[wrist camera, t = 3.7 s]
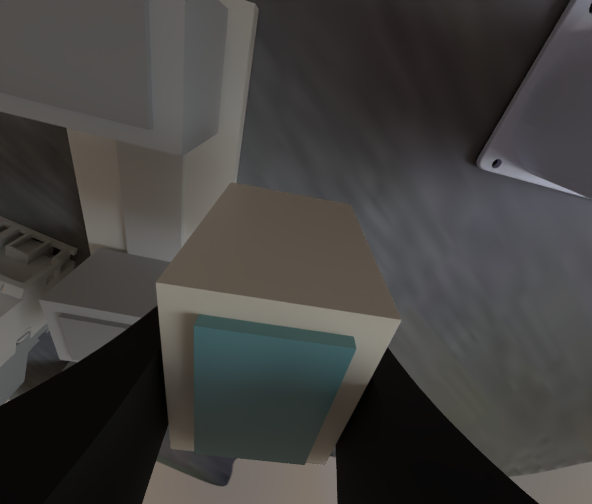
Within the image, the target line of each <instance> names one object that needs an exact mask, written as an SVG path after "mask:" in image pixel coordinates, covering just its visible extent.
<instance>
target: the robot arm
mask: <svg viewBox="0 0 592 504" xmlns="http://www.w3.org/2000/svg"><path fill="white" fill-rule="evenodd" d="M591 4H592V0H570V2H569V3H568V5H567V7H566V9H565V10H564V12H563V14H562V15H561V17H560V19H559V21H558V22H557V24H556V26H555V27H554V29H553V31H552V32H551V34H550V36H549V38H548V39H547V41H546V43H545V44H544V46H543V48H542V49H541V51H540V53H539V55H538V56H537V58H536V60H535V61H534V63H533V65H532V66H531V68H530V70H529V72H528V73H527V75H526V77H525V78H524V80H523V82H522V84H521V85H520V87H519V89H518V90H517V92H516V94H515V95H514V97H513V99H512V101H511V102H510V104H509V106H508V107H507V109H506V111H505V112H504V114H503V116H502V118H501V119H500V121H499V123H498V124H497V126H496V128H495V129H494V131H493V133H492V135H491V136H490V138H489V140H488V141H487V143H486V145H485V147H484V148H483V150H482V152H481V153H480V155H479V157H478V159H477V161H476V163H477V166H478V167H479V168H481V169H483V170H486V171H489V172H493V173H497V174H500V175H504V176H508V177H511V178H515V179H519V180H522V181H526V182H530V183H533V184H537V185H541V186H544V187H548V188H552V189H555V190H559V191H562V192H566V193H570V194H573V195H577V196H581V197H584V198H588V199H592V12H591V13H589V8H590V5H591ZM496 159H497V160H498V161H497V163H496V164H495V165H494V166H492V163H493V162H494V161H495V160H496ZM168 424H169V423H168V412H167V401H166V390H165V380H164V369H163V358H162V347H161V336H160V325H159V314H158V305H157V306H156V307H154V308H153V309H152V310H151V311H150V312H148V313H147V314H146V315H145V316H143V317H142V318H141V319H139V320H138V321H137V322H135V323H134V324H133V325H131V326H130V327H129V328H127V329H126V330H125V331H123V332H122V333H121V334H119V335H118V336H116V337H115V338H114V339H112V340H111V341H109V342H108V343H106V344H105V345H103V346H102V347H100V348H99V349H97V350H96V351H94V352H93V353H91V354H90V355H88V356H87V357H85V358H83V359H82V360H80V361H79V362H77V363H75V364H74V365H72V366H70V367H69V368H67V369H65V370H64V371H62V372H60V373H59V374H57V375H55V376H54V377H52V378H50V379H49V380H47V381H45V382H43V383H42V384H40V385H38V386H36V387H35V388H33V389H31V390H29V391H27V392H26V393H24V394H22V395H20V396H18V397H16V398H14V399H12V400H10V401H8V402H7V403H5V404H3V405H1V406H0V504H142V502H143V499H144V496H145V493H146V489H147V487H148V483H149V480H150V477H151V474H152V471H153V468H154V465H155V462H156V459H157V456H158V453H159V450H160V447H161V444H162V441H163V438H164V435H165V432H166V430H167V427H168ZM336 466H337V467H336V468H337V499H338V500H337V501H338V504H538V503H537V502H536V501H535V500H534V499H533V498H531V497H530V496H529V495H528V494H526V493H525V492H524V491H523V490H522V489H521V488H520V487H519V486H518V485H516V484H515V483H514V482H513V481H512V480H511V479H510V478H509V477H508V476H506V475H505V474H504V473H503V472H502V471H501V470H500V469H499V468H498V467H496V466H495V465H494V464H493V463H492V462H491V461H490V460H489V459H488V458H487V457H486V456H485V455H484V454H482V453H481V452H480V451H479V450H478V449H477V448H476V447H475V446H474V445H473V444H472V443H471V442H470V441H469V440H468V439H467V438H466V437H465V436H464V435H463V434H462V433H461V432H460V431H459V430H458V429H457V428H456V427H455V426H454V425H453V424H452V423H451V422H450V421H449V420H448V419H447V418H446V417H445V416H444V415H443V414H442V412H441V411H440V410H439V409H438V408H437V407H436V406H435V405H434V404H433V403H432V401H431V400H430V399H429V398H428V397H427V396H426V395H425V394H424V392H423V391H422V390H421V389H420V388H419V387H418V385H417V384H416V383H415V382H414V381H413V380H412V378H411V377H410V376H409V375H408V373H407V372H406V371H405V369H404V368H403V367H402V366H401V364H400V363H399V362H398V361H397V359H396V358H395V356H394V355H393V354H392V352H391V351H390V350H389V348H388V347H387V349H386V351H385V353H384V354H383V356H382V358H381V360H380V362H379V364H378V366H377V368H376V370H375V371H374V373H373V375H372V377H371V379H370V381H369V383H368V385H367V386H366V388H365V390H364V392H363V394H362V396H361V398H360V400H359V402H358V403H357V405H356V407H355V409H354V411H353V413H352V415H351V417H350V419H349V420H348V422H347V424H346V426H345V428H344V430H343V432H342V434H341V435H340V437H339V439H338V441H337V443H336Z"/></svg>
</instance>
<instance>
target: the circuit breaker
mask: <svg viewBox="0 0 592 504" xmlns="http://www.w3.org/2000/svg"><path fill="white" fill-rule="evenodd" d="M7 228H8V229H7ZM22 234H23V236H22ZM32 237H33V238H35V239H38V240H40V241H42V242H44V243H41V242H38V241H36V240H33V239H32ZM54 247H55V248H57V249H60V252H59V253H58V254H57V255H52V253H53V249H54ZM77 251H78V249H77V248H75V247H72V246H70V245H68V244H65V243H63V242H61V241H58V240H56V239H53V238H51V237H49V236H46V235H44V234H42V233H39V232H37V231H35V230H32V229H30V228H28V227H25V226H23V225H20V224H18V223H16V222H13V221H11V220H9V219H6V218H4V217H2V216H0V406H1V405H3V404H4V403H5V402H6V401H7V399H8V398H9V397H10V396H11V395H12V394H13V393H14V392H15V391H16V390H17V389H18V388H19V386H20V385H21V384H22V383H23V382H24V380H25V373H26V365H27V357H28V352H29V351H30V350H31V349H32V348H33V347H34V346H35V345H36V344H37V343H38V342H39V341H40V340H39V339H37V338H38V337H39V336H40V335H41V334H42V333H43V332H44V333H48V332H49V328H48V325H47V322H46V319H45V316H44V313H43V311H42V308H41V305H40V302H39V299H40V298H41V297H42V296H43V295H44V294H46V293H47V292H48V291H49V290H50V289H51V288H53V287H54V286H55V285H56V284H57V283H59V282H60V281H61V280H62V279H63V278H65V277H66V276H67V275H68V274H69V273H71V272H72V271H73V270H74V265H75V261H73V260H70V256H71V255H73V256H74V255H75V254H76V253H77Z"/></svg>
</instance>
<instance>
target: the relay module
mask: <svg viewBox="0 0 592 504" xmlns="http://www.w3.org/2000/svg"><path fill="white" fill-rule="evenodd" d="M156 292H157V303H158V314H159V325H160V336H161V347H162V358H163V369H164V380H165V390H166V401H167V412H168V423H169V434H170V445H171V449H178V450H188V451H194V454H203V455H212V456H222V457H232V458H242V459H252V460H261V461H271V462H281V463H290V464H300V465H305V463H313V464H323V465H325V464H326V462H327V460H328V458H329V456H330V454H331V452H332V451H333V449H334V447H335V445H336V443H337V441H338V439H339V437H340V435H341V434H342V432H343V430H344V428H345V426H346V424H347V422H348V420H349V419H350V417H351V415H352V413H353V411H354V409H355V407H356V405H357V403H358V402H359V400H360V398H361V396H362V394H363V392H364V390H365V388H366V386H367V385H368V383H369V381H370V379H371V377H372V375H373V373H374V371H375V370H376V368H377V366H378V364H379V362H380V360H381V358H382V356H383V354H384V353H385V351H386V349H387V347H388V345H389V343H390V341H391V339H392V338H393V336H394V334H395V332H396V330H397V328H398V326H399V324H400V322H401V321H402V320H401V317H400V315H399V313H398V311H397V308H396V306H395V304H394V301H393V299H392V297H391V295H390V292H389V290H388V288H387V286H386V283H385V281H384V279H383V277H382V274H381V272H380V270H379V268H378V265H377V263H376V261H375V259H374V256H373V254H372V252H371V249H370V247H369V245H368V243H367V240H366V238H365V236H364V234H363V231H362V229H361V227H360V225H359V222H358V220H357V218H356V216H355V213H354V211H353V209H352V206H351V205H350V204H345V203H340V202H334V201H329V200H324V199H318V198H313V197H308V196H302V195H297V194H292V193H286V192H281V191H276V190H270V189H265V188H260V187H254V186H249V185H244V184H238V183H233V182H230V184H229V185H228V186H227V188H226V189H225V190H224V192H223V193H222V194H221V196H220V197H219V198H218V200H217V201H216V202H215V204H214V205H213V206H212V208H211V209H210V210H209V212H208V213H207V214H206V216H205V217H204V219H203V220H202V221H201V223H200V224H199V225H198V227H197V228H196V229H195V231H194V232H193V233H192V235H191V236H190V237H189V239H188V240H187V241H186V243H185V244H184V245H183V247H182V248H181V249H180V251H179V252H178V253H177V255H176V256H175V257H174V259H173V260H172V261H171V263H170V264H169V265H168V267H167V268H166V269H165V271H164V272H163V273H162V275H161V276H160V277H159V279H158V280H157V281H156Z"/></svg>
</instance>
